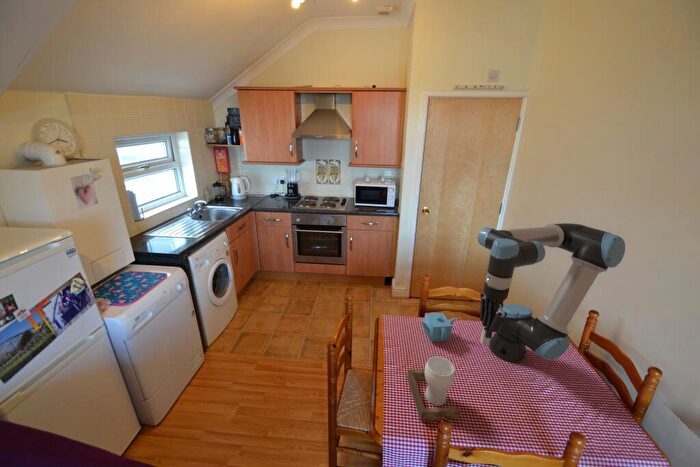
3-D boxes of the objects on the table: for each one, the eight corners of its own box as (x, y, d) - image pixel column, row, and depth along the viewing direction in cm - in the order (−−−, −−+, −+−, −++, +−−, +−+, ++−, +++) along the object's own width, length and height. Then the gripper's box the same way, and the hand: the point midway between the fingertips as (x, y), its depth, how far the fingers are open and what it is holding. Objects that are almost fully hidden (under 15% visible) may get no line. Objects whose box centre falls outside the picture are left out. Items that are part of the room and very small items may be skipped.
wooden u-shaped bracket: (439, 376, 123) (440, 368, 122) (458, 419, 105) (459, 410, 104) (406, 377, 122) (407, 370, 121) (420, 420, 104) (421, 412, 103)
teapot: (414, 327, 153) (416, 308, 149) (448, 325, 155) (451, 306, 151) (425, 348, 138) (427, 328, 135) (462, 346, 140) (466, 326, 137)
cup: (451, 411, 108) (457, 379, 103) (421, 406, 110) (426, 374, 105) (448, 388, 118) (454, 357, 113) (421, 383, 120) (425, 353, 115)
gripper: (476, 275, 105) (466, 331, 113) (496, 295, 93) (483, 356, 101) (497, 275, 106) (485, 330, 114) (519, 295, 93) (504, 355, 101)
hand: (484, 342), depth 107 cm, fingers closed
